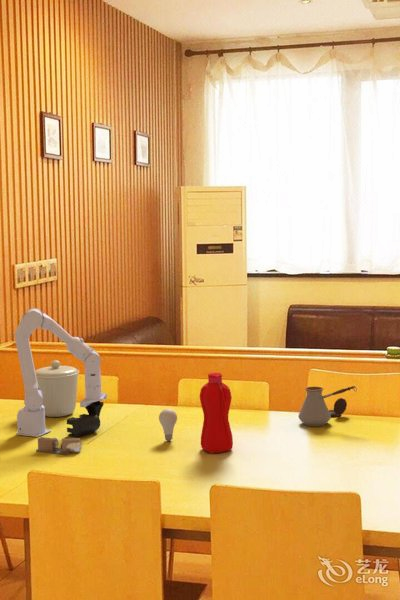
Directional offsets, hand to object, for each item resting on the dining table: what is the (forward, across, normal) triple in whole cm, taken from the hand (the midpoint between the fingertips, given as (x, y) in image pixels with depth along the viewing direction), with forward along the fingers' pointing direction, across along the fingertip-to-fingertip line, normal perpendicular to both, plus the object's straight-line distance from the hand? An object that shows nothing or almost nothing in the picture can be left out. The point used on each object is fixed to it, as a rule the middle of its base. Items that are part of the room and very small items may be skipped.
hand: (94, 422), depth 287 cm
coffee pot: (+2, +33, -76) cm, 83 cm away
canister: (+3, +14, +26) cm, 30 cm away
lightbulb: (+3, -4, -32) cm, 32 cm away
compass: (+3, +46, -74) cm, 87 cm away
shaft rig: (+2, -27, -4) cm, 27 cm away
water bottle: (+3, -8, -52) cm, 53 cm away
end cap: (+3, -7, 0) cm, 8 cm away
